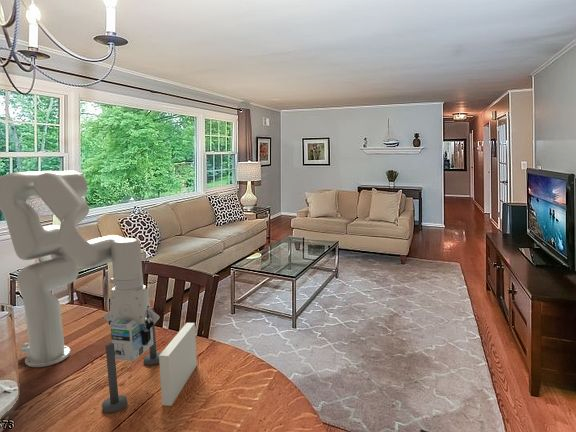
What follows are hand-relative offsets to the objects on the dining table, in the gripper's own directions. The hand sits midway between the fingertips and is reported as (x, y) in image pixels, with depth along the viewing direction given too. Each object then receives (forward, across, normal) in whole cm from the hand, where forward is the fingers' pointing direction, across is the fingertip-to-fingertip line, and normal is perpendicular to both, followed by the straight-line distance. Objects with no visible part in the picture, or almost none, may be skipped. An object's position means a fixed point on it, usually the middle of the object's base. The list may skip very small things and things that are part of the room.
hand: (133, 342), depth 113 cm
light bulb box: (+3, 0, 0) cm, 3 cm away
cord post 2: (+12, 0, +12) cm, 17 cm away
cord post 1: (+12, 0, -11) cm, 17 cm away
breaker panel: (+12, +13, 0) cm, 18 cm away
